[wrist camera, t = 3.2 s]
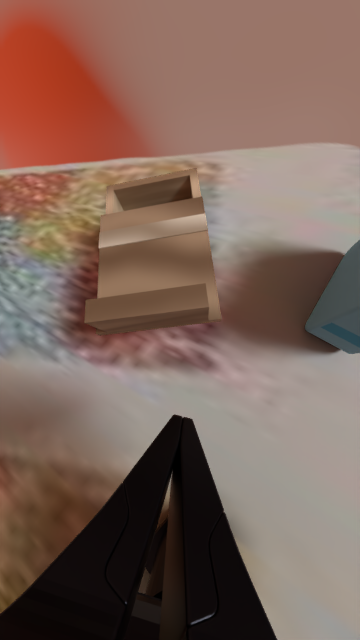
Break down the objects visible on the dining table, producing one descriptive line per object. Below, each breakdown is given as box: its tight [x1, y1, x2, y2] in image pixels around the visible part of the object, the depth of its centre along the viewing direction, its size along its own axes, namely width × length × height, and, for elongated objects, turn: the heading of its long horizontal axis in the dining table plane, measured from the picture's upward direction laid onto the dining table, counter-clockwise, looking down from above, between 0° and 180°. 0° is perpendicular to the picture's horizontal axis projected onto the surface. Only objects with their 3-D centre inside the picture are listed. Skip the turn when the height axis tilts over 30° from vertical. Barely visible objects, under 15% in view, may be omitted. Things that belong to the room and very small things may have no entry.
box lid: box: [84, 197, 222, 335], centre depth 15 cm, size 12×10×4 cm
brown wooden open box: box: [106, 168, 201, 214], centre depth 22 cm, size 12×10×7 cm
